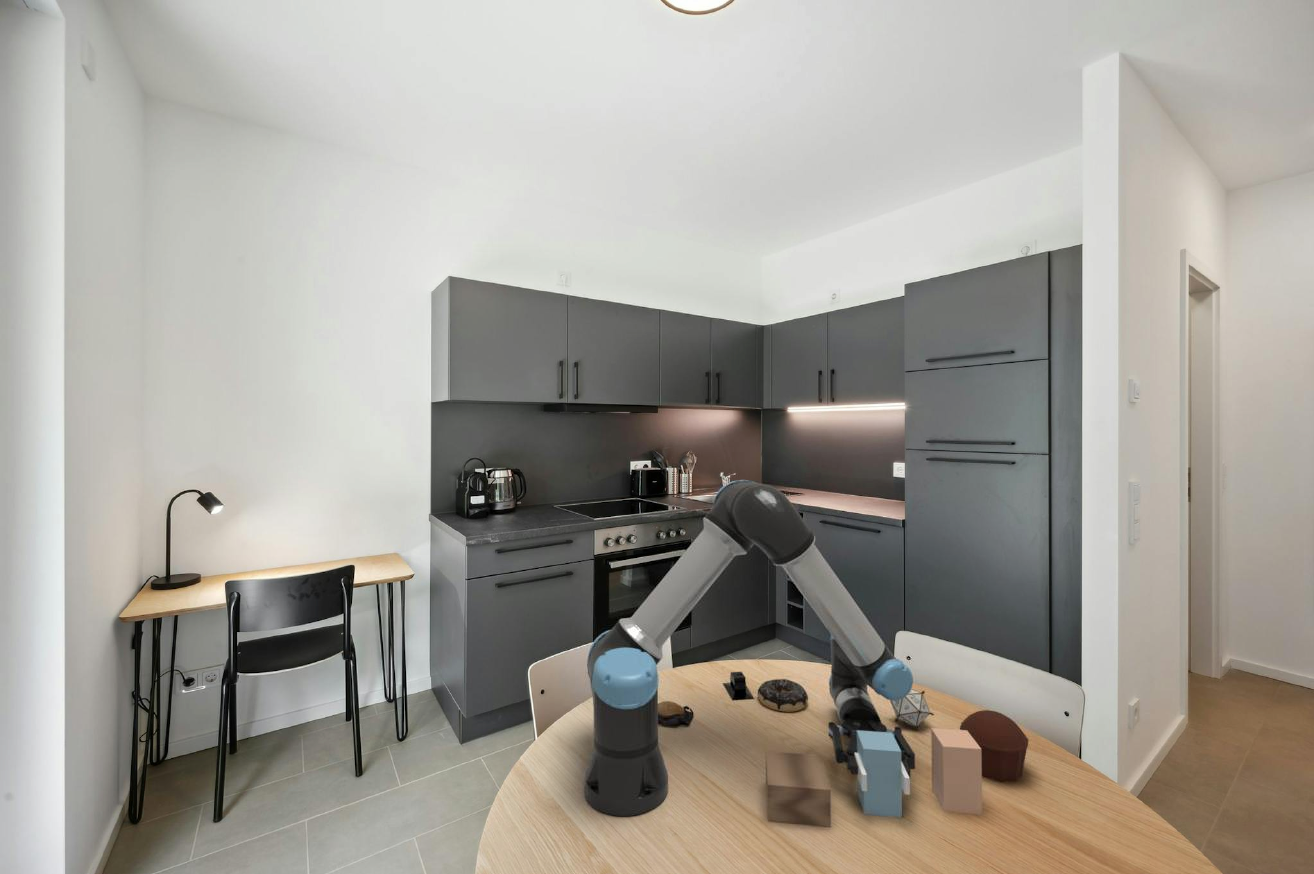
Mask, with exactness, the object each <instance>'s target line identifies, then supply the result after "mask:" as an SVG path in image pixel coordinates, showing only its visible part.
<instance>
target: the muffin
mask: <svg viewBox="0 0 1314 874" xmlns="http://www.w3.org/2000/svg"><path fill="white" fill-rule="evenodd" d="M959 730H967V731H968V732H969V734H970V735H971V736H972V737H973V739H974V740H975V741H976V743H977V744H978V745H979V747H980V748H981V757H982V777H983V778H985V779H991V780H994V781H997V782H1000V783H1003V782H1004V783H1005V782H1009V783H1010V782H1013V783H1014V782H1017V780H1018V779H1020V778H1021V777H1022V776H1023V772H1024V766H1025V761H1026V754H1027V750H1028V747H1029V738H1028V737H1027V736H1026V734H1025V733H1024V732H1023V731H1022V728H1020V726H1019V725H1018V724H1017V722H1015V721H1014V720H1013V719H1012V718H1010V717H1008V716H1007V715H1005V714H1003V713H1001V712H999V711H995V710H989V709H985V710H984V709H983V710H978V711H977V710H976V711H975V712H973V713H971V714H969V715H968V716H967V717H966V718H965V719H964V720H963V721H961V722H960V725H959Z"/></svg>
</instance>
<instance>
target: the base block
mask: <svg viewBox="0 0 1314 874" xmlns="http://www.w3.org/2000/svg"><path fill="white" fill-rule="evenodd" d="M765 788H766V789H765V790H766V805H767V807H766V809H767V821H768V822H777V823H788V824H796V825H798V824H800V825H809V826H819V827H830V828H831V827H832V823H831V822H832V818H831V817H832V814H831V813H832V811H831V810H832V809H831V807H832V806H831V802H832V801H831V800H832V799H831V796H832V795H831V786H830V782H829V778H828V774H827V770H826V765H825V761H824V758H823V755H822V754H821V755H820V754H807V753H795V752H783V751H782V752H781V751H769V750H766V751H765Z"/></svg>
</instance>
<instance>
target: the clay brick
mask: <svg viewBox="0 0 1314 874" xmlns="http://www.w3.org/2000/svg"><path fill="white" fill-rule="evenodd" d="M930 729H931V732H930V733H931V735H930V736H931V737H930V738H931V739H930V740H931V748H930V749H931V790H932V792H933V794H934V796H935V798H936V799H937V802H938V803H939V805H940V807H941V809H942V811H943V812H945V813H946V812H947V813H956V814H957V813H958V814H970V815H981V816H983V789H982V788H983V786H982V785H983V783H982V782H983V781H982V780H983V778H982V777H983V776H982V757H981V748H980V747H979V745H978V744H977V743H976V741H975V740H974V739H973V737H972V736H971V735H970V734H969V732H968V731H967V730H960V729H951V728H950V729H949V728H935V727H931V728H930Z"/></svg>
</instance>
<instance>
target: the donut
mask: <svg viewBox="0 0 1314 874" xmlns="http://www.w3.org/2000/svg"><path fill="white" fill-rule="evenodd" d="M757 697H758V700H759V702H760V703H761V704H762V705H763V706H764V707H767V708H768V709H771V710H774V711H778V712H782V713H783V712H784V713H793V712H798V711H801V710H803V709H804V708H806V706H808V701H809V697H808V693H807V691H806V689H805V688H804V687H803V686H802V685H801V684H800V683H798V682H795V681H792V680H790V679H788V678H778V679H775V678H774V679H769V680H766V681H763V682H762V683H761V685H760V686H759V688H758V689H757Z"/></svg>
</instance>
